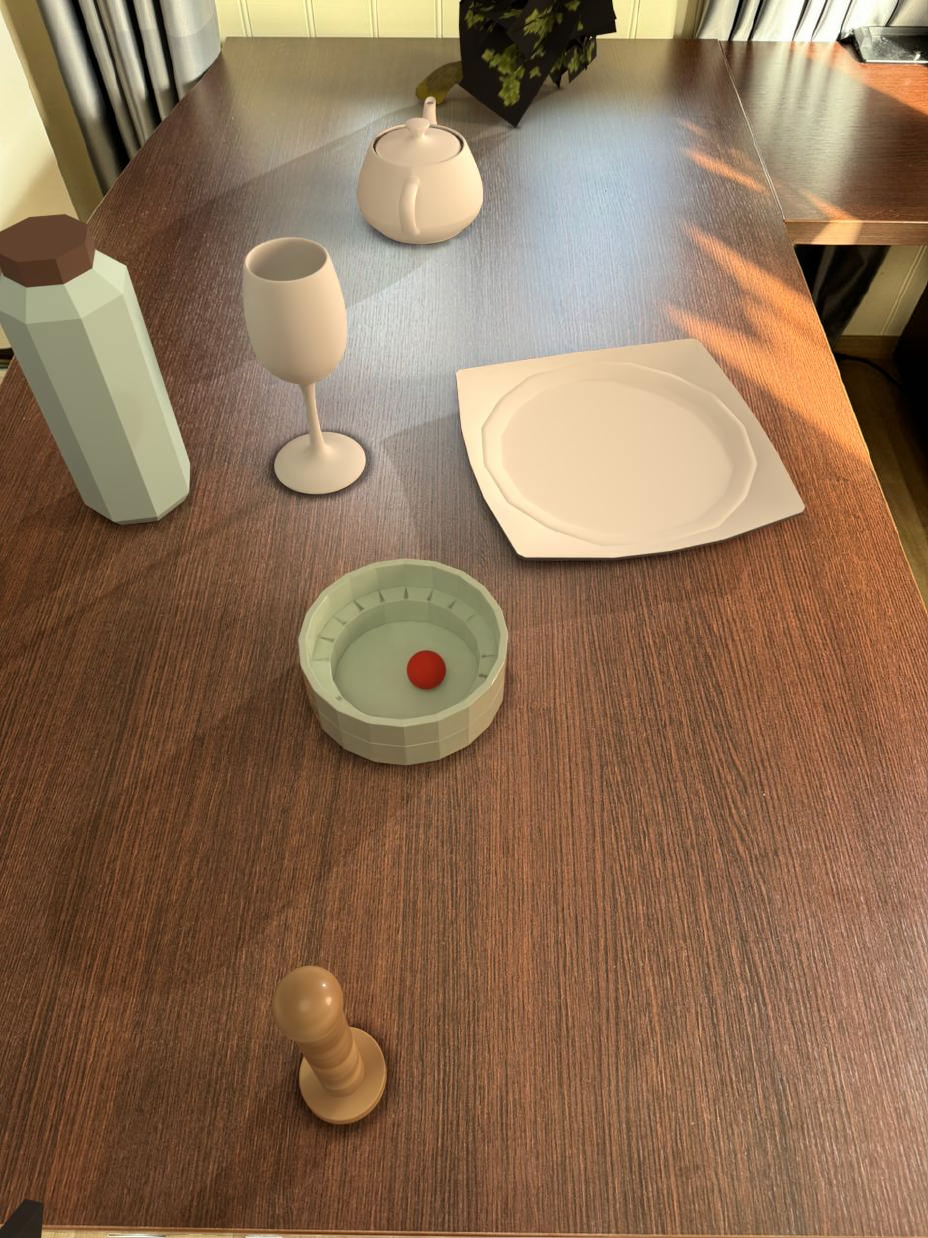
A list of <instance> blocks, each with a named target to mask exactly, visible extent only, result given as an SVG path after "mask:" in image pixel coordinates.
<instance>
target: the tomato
mask: <svg viewBox="0 0 928 1238" xmlns="http://www.w3.org/2000/svg"><path fill="white" fill-rule="evenodd" d="M445 674H446V665H445V662H444V660H443V659H442V657H441V656H440V655H439V654H437V653H436V652H433V651H430V650H423V651H419V652H417V653H416V654H414V655H413V656H412V657H411V658H410V660H409V662H408V664H407V675H408V678H409V680H410V682H411V683H412V684H413V685H414V686H416V687H418V688H420V689H425V690H428V689H433V688H435V687H437V686H438V685H439V684H441V682H442V681H443V679H444V677H445Z"/></svg>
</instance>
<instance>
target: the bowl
mask: <svg viewBox="0 0 928 1238" xmlns="http://www.w3.org/2000/svg"><path fill="white" fill-rule="evenodd" d="M297 645H298V654H299V655H298V656H299V665H300V669H301V673H302V679H303V681H304V685H305V689H306V693H307V697H308V701H309V705H310V708H311V710H312V711H313V714H314V716H315V717H316V719H317V722H318V723H319V725H320V727H321V729H322V730H323V731H324V733H326V734H327V735H328V736H329V737H330V738H331V739H333V741H335V742H336V743H337V744H338V745H339V746H341V747H342V749H344V750H346V751H348V752H350V753H353V754H355V755H357V756H360V757H362V758H365V759H367V760H370V761H372V762H374V763H382V764H389V765H390V764H391V765H398V766H413V765H417V764H422V763H423V764H424V763H429V762H430V763H431V762H434V761H439V760H442V759H444V758H446V757H447V756H450V755H452V754H454V753H456V752H458V751H460V750H462V749H464V748H466V747H468V746H470V745H471V744H472V743H473V742H474V741H475V740H476V739H477V738H478V737H479V736H480V735H481V734H483V733H484V732H485V731H486V730H487V729H488V728H489V727H490V726H491V724H492V722H493V721H494V718H495V716H496V715H497V712H498V710H499V709H500V708H501V707H500V706H502V703H503V700H504V694H505V686H506V677H507V664H508V663H507V661H508V648H509V647H508V646H509V631H508V628H507V624H506V621H505V617H504V613H503V610H502V608H501V607H500V605H499V604H498V603H497V601H496V599H495V598H494V597H493V596H492V594H491V593H490V591H489V590H488V589H487V588H486V586H485V585H483V584H482V583H481V582H479V581H478V580H476V579H475V578H473V576H470V575H469V574H468V573H467V572H465V571H464V570H462V569H458V568H455V567H452V566H451V565H446V564H444V563H441V562H439V561H436V560H435V561H434V560H426V559H418V558H416V559H415V558H407V557H406V558H404V557H403V558H396V559H390V560H389V559H388V560H382V561H376V562H372V563H370V564H366V565H363V566H362V567H359V568H357V569H354V570H352V571H348V572H346V573H344V574H343V575H342V576H341V577H339V578H338V579H336V580H335V581H334V582H333V583H331V584H330V585H328V586H327V587H326V588H325V589H323V590H322V591H321V592H320V594H319V595H318V597H317V598H316V599H315V601H314V602H313V604H311V605H310V607H309V609H308V610H307V612H305V614H304V617H303V621H302V625H301V628H300V631H299V635H298V638H297ZM423 650H430V651H433V652H436V653H437V654H439V655H440V656H441V657H442V659H443V660H444V662H445V665H446V674H445V677H444V679H443V681H442V682H441V684H439V685H438V686H437V687H435V688H433V689H428V690H425V689H420V688H418V687H416V686H414V685H413V684H412V683H411V682H410V680H409V678H408V675H407V664H408V662H409V660H410V658H411V657H412V656H413V655H414V654H416V653H417V652H419V651H423Z"/></svg>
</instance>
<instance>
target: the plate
mask: <svg viewBox="0 0 928 1238" xmlns="http://www.w3.org/2000/svg"><path fill="white" fill-rule="evenodd" d="M455 384H456V385H455V386H456V394H457V405H458V411H459V412H458V413H459V422H460V423H459V424H460V433H461V436H462V441H463V444H464V449H465V452H466V455H467V459H468V463H469V467H470V470H471V471H472V474H473V477H474V479H475V482H476V484H477V487H478V490H479V492H480V495H481V497H482V500H483V502H484V504H485V505H486V507H487V509H488V511H489V512H490V514H491V515H492V517H493V519H494V521H495V522H496V524H497V526H498V528H499V529H500V530H501V532H502V534H503V536H504V537H505V539H506V541H507V542H508V544H509V546H510V547H511V550H512V551H513V552H514V554H515V556H516V557H517V558H519V559H521V560H523V561H525V562H526V561H527V562H529V561H533V562H537V561H538V562H539V561H549V562H550V561H619V560H620V561H621V560H627V559H629V560H630V559H635V558H643V557H644V558H645V557H652V556H660V555H661V556H663V555H669V554H674V553H679V552H683V551H688V550H692V549H697V548H698V549H699V548H702V547H703V548H704V547H707V546H712V545H715V544H721V543H724V542H725V543H726V542H728V541H731V540H733V539H737V538H739V537H742V536H745V535H748V534H751V533H754V532H756V531H759V530H763V529H765V528H768V527H771V526H775V525H776V524H780V523H783V522H786V521H789V520H792V519H794V518H798V517H800V516H802V515H803V513H804V511H805V509H806V505H805V503H804V501H803V500H802V497H801V495H800V494H799V492H798V490H797V488H796V486H795V484H794V482H793V480H792V478H791V476H790V475H789V472H788V471H787V468H786V467H785V464H784V462H783V461H782V459H781V457H780V455H779V453H778V451H777V449H776V447H775V445H774V444H773V443H772V441H771V440H770V437H768V435H767V433H766V432H765V430H764V428H763V427H762V425H761V423H760V422H759V419H758V418H757V417H756V415H755V414H754V413H753V411H752V409H751V408H750V406H749V405H748V404H747V402H746V401H745V399H744V398H743V396H742V395H741V394H740V392H739V391H738V389H737V388H736V386H735V385H734V384H733V383H732V382H731V380H730V379H729V378H728V376H727V374H726V373H725V372H724V371H723V369H722V368H721V367H720V366H719V364H718V362H717V361H716V360H715V358H713V356H712V354H710V353H709V351H708V350H707V348H706V347H705V346H704V344H703V343H702V342H701V341H700V340H699V339H697V338H685V339H675V340H667V341H660V342H651V343H644V344H643V343H641V344H635V345H626V346H618V347H609V348H602V349H600V348H599V349H594V350H585V351H578V352H577V351H576V352H569V353H563V354H555V355H547V356H542V357H536V358H535V357H534V358H530V359H522V360H514V361H508V362H502V363H496V364H495V363H494V364H488V365H487V364H486V365H482V366H481V365H480V366H474V367H468V368H462V369H459V370H458V371H457V372H455Z"/></svg>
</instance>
